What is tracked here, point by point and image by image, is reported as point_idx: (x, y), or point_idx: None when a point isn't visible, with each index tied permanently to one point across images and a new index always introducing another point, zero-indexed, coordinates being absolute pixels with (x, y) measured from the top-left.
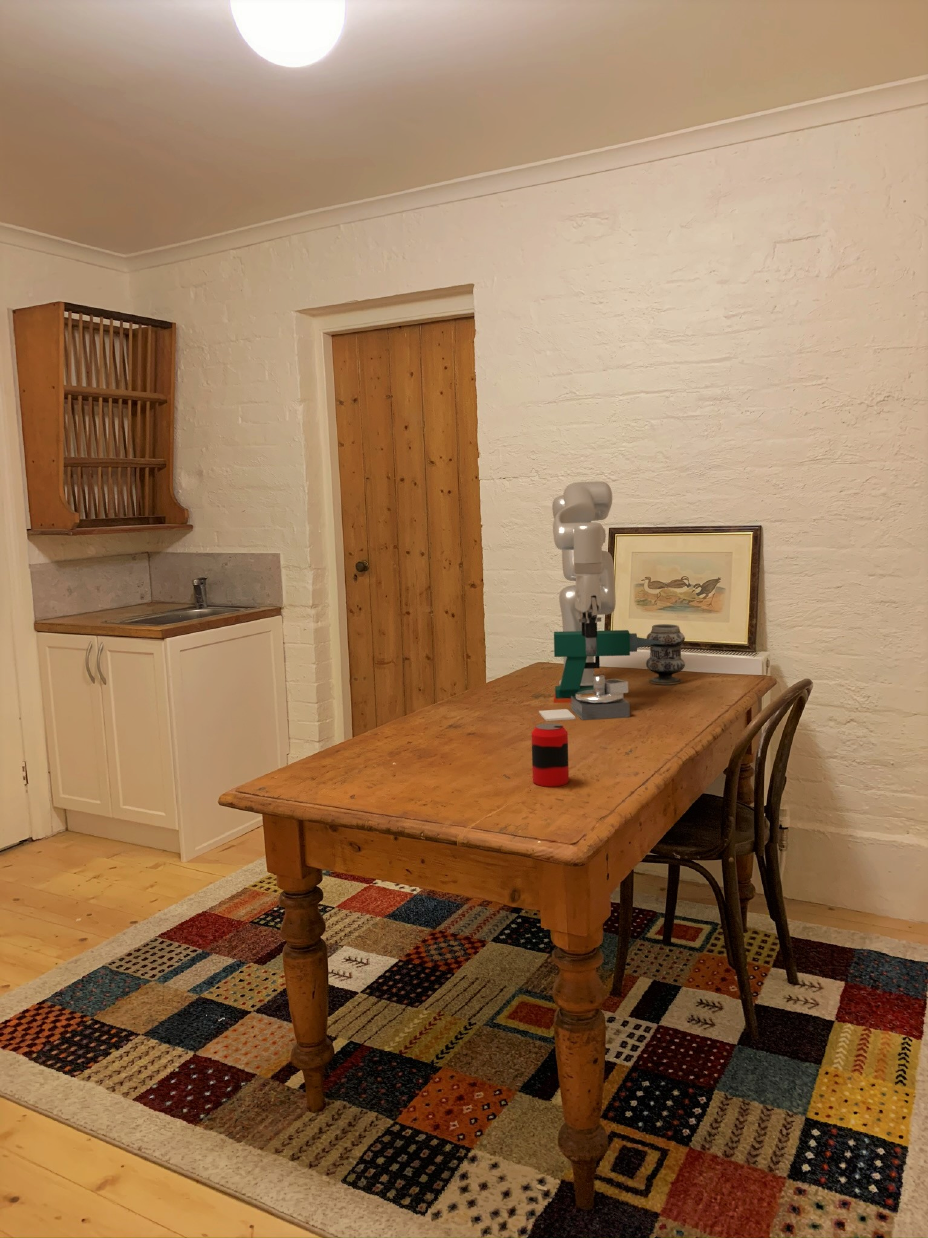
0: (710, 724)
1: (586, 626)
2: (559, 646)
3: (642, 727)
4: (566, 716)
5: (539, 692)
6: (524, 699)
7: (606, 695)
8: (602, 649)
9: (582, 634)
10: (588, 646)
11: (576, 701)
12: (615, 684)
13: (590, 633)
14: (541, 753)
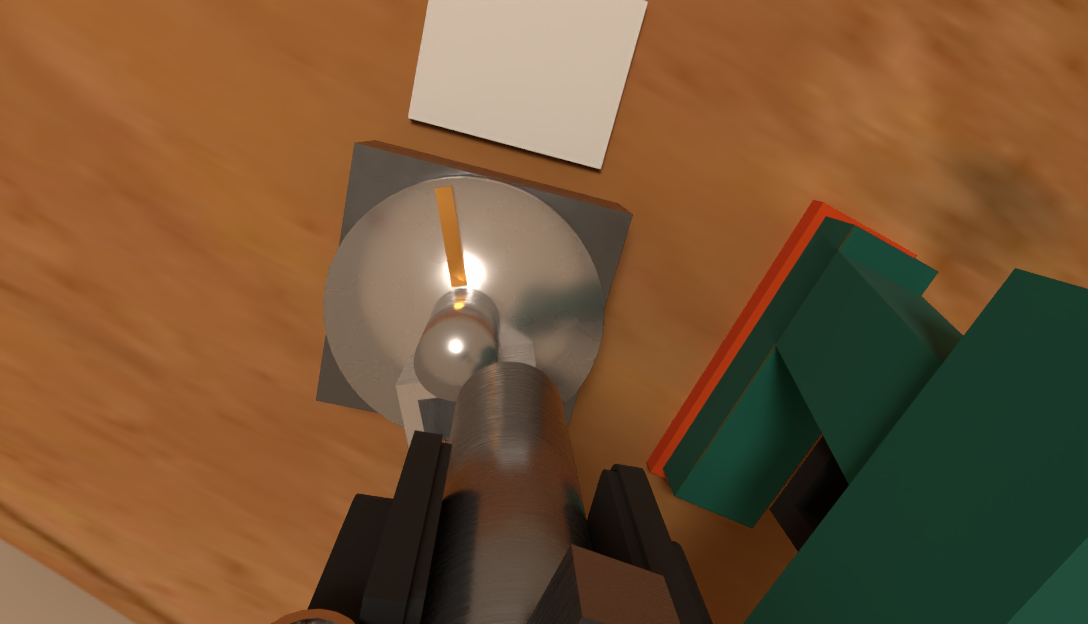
0: (92, 569)
1: (375, 559)
2: (1070, 342)
3: (124, 323)
4: (441, 79)
5: (1066, 248)
6: (987, 95)
7: (411, 336)
8: (800, 621)
9: (617, 474)
10: (471, 411)
11: (493, 178)
12: (404, 418)
13: (353, 513)
14: None
